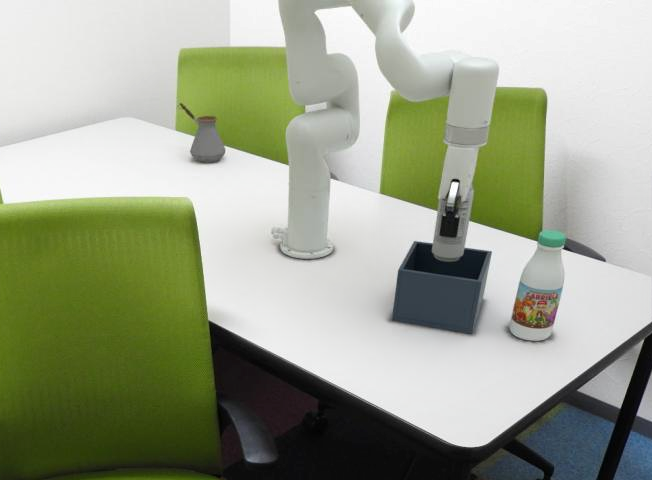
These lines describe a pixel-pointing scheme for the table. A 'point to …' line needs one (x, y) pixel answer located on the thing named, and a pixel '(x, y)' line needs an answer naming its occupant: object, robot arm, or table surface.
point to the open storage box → (441, 288)
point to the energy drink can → (454, 247)
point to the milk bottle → (539, 289)
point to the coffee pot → (206, 139)
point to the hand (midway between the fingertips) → (451, 229)
